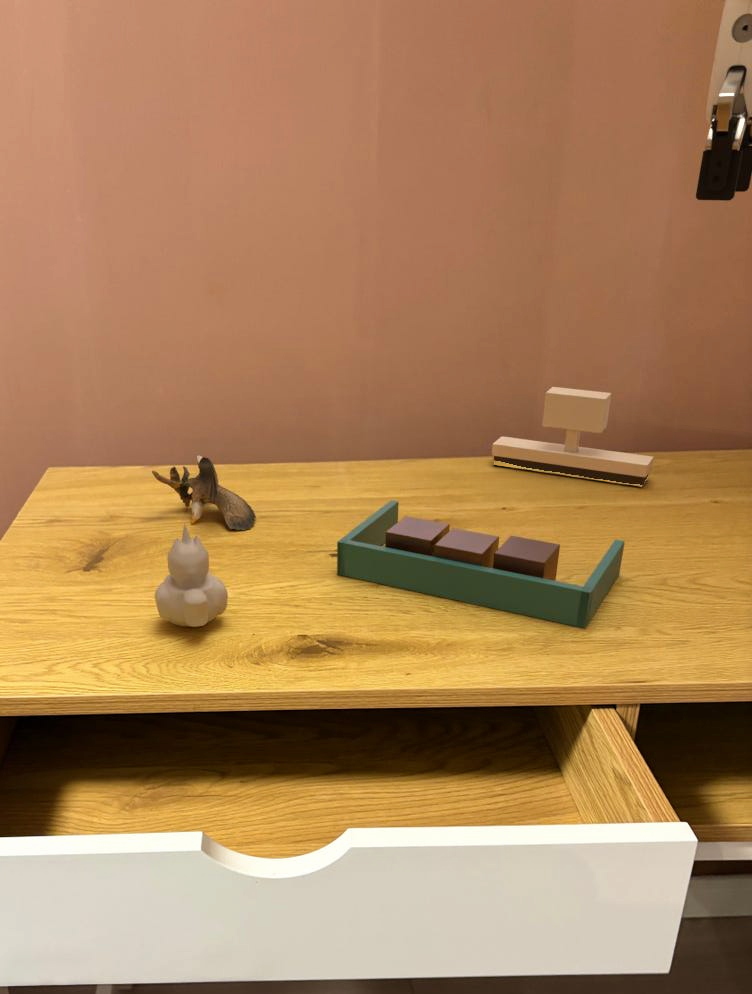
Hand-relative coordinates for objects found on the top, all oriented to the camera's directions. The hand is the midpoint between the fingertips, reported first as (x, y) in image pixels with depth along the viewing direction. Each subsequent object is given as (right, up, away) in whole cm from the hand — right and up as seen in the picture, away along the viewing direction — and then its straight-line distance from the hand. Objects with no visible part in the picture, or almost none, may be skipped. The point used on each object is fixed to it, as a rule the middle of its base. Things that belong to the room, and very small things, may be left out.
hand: (722, 195), depth 92 cm
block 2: (-27, -38, -12) cm, 48 cm away
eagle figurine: (-49, -31, +2) cm, 57 cm away
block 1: (-30, -36, -10) cm, 48 cm away
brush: (-11, -24, +11) cm, 29 cm away
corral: (-25, -36, -10) cm, 45 cm away
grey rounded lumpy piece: (-49, -41, -17) cm, 66 cm away
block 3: (-23, -38, -14) cm, 47 cm away
